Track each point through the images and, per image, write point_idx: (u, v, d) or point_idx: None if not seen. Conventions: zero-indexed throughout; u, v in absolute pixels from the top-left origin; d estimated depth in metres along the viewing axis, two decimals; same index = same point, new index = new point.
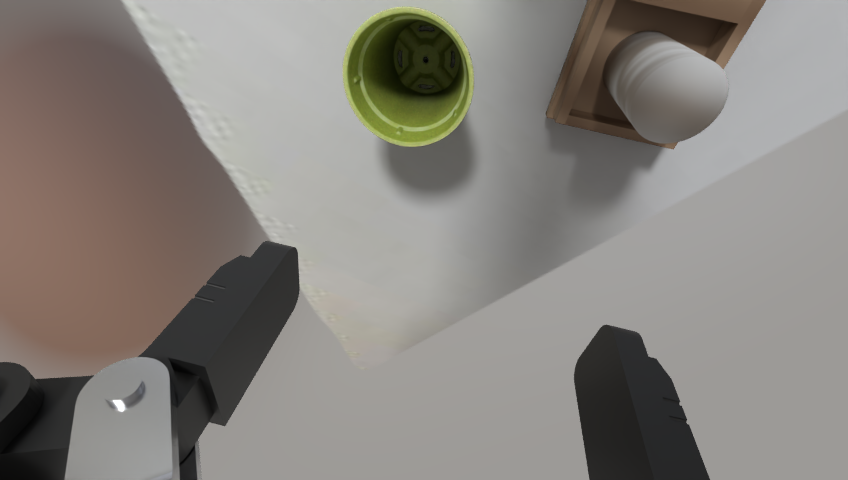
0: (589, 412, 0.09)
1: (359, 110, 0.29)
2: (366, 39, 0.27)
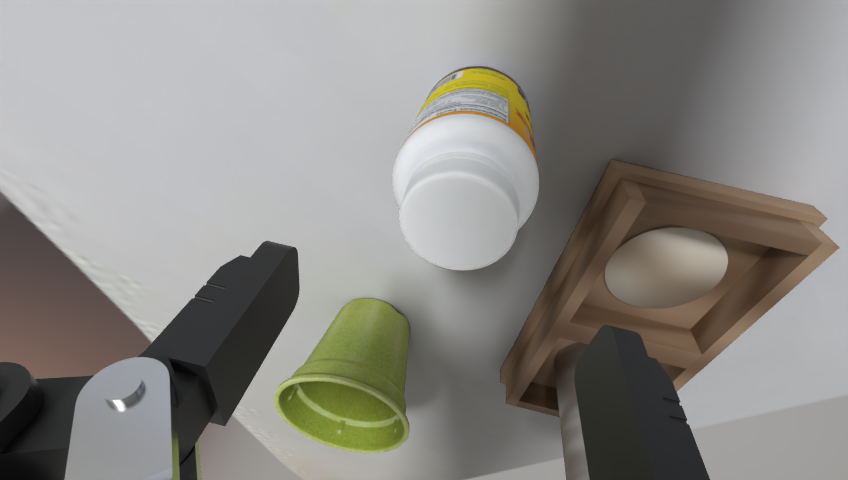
0: (589, 412, 0.09)
1: (295, 423, 0.28)
2: (299, 368, 0.26)
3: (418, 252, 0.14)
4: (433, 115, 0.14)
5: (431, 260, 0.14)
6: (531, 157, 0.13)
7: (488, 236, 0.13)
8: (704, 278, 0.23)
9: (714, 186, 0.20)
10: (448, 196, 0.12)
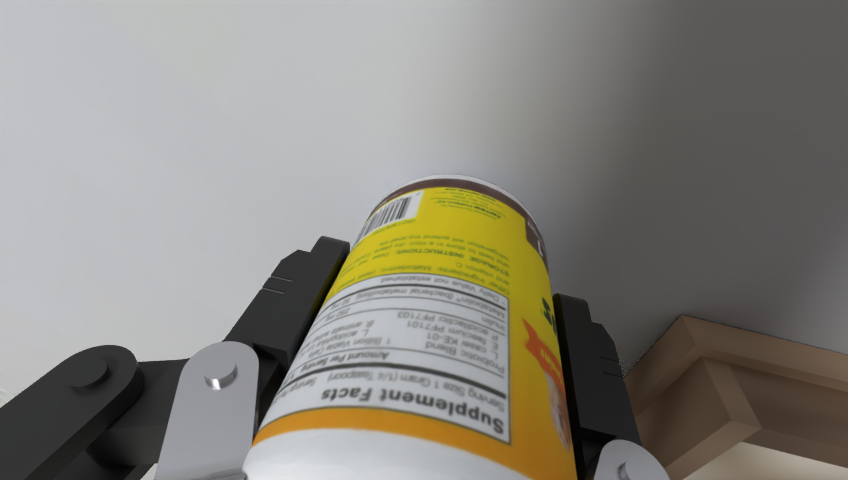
0: None
1: None
2: None
3: None
4: (317, 392, 0.05)
5: None
6: None
7: None
8: None
9: None
10: None
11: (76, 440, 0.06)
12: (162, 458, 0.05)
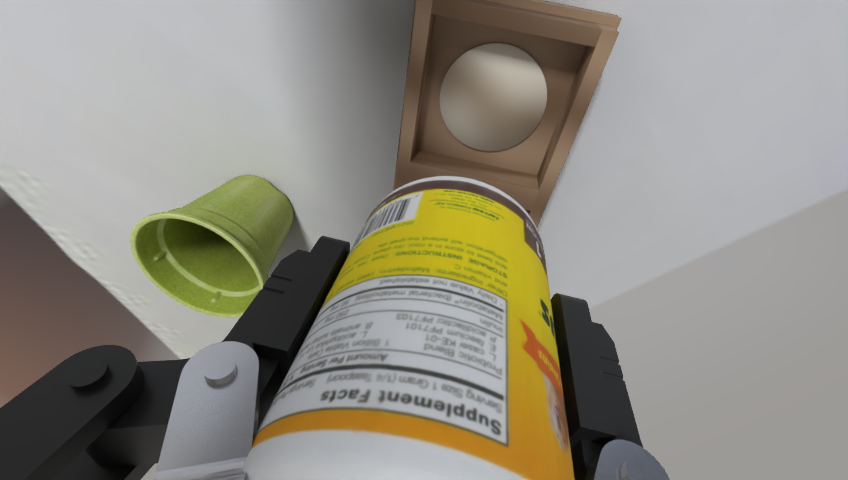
0: None
1: (164, 286, 0.28)
2: (158, 223, 0.27)
3: None
4: (316, 394, 0.05)
5: None
6: None
7: None
8: (530, 106, 0.23)
9: None
10: None
11: (77, 440, 0.06)
12: (162, 459, 0.05)
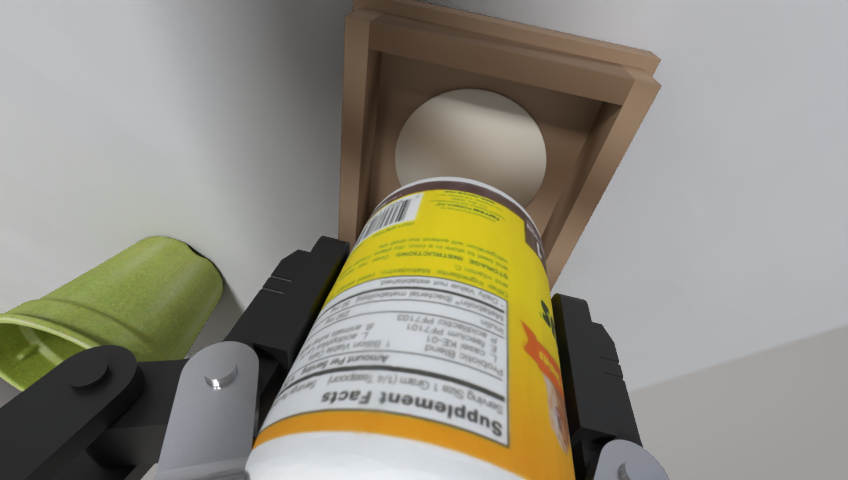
0: None
1: None
2: None
3: None
4: (317, 395, 0.05)
5: None
6: None
7: None
8: (522, 174, 0.16)
9: (504, 21, 0.14)
10: None
11: (76, 440, 0.06)
12: (162, 459, 0.05)
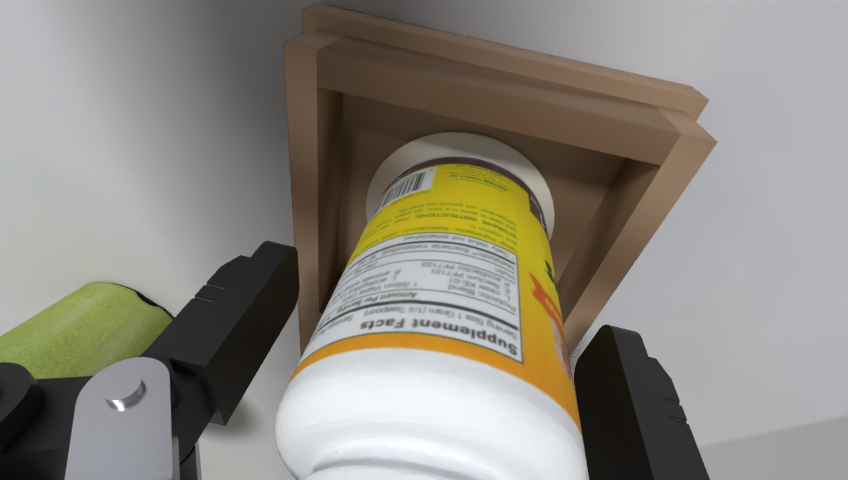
0: (589, 412, 0.09)
1: None
2: None
3: None
4: (356, 325, 0.06)
5: None
6: (574, 446, 0.06)
7: None
8: None
9: (500, 47, 0.11)
10: None
11: None
12: None
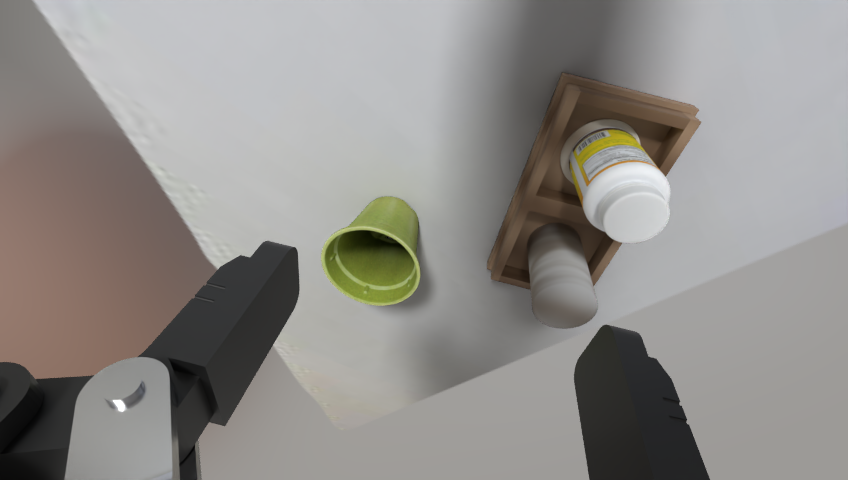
0: (589, 412, 0.09)
1: (334, 279, 0.37)
2: None
3: (608, 232, 0.26)
4: (615, 161, 0.26)
5: (614, 237, 0.26)
6: None
7: (651, 225, 0.25)
8: None
9: (628, 90, 0.31)
10: (637, 204, 0.24)
11: None
12: None
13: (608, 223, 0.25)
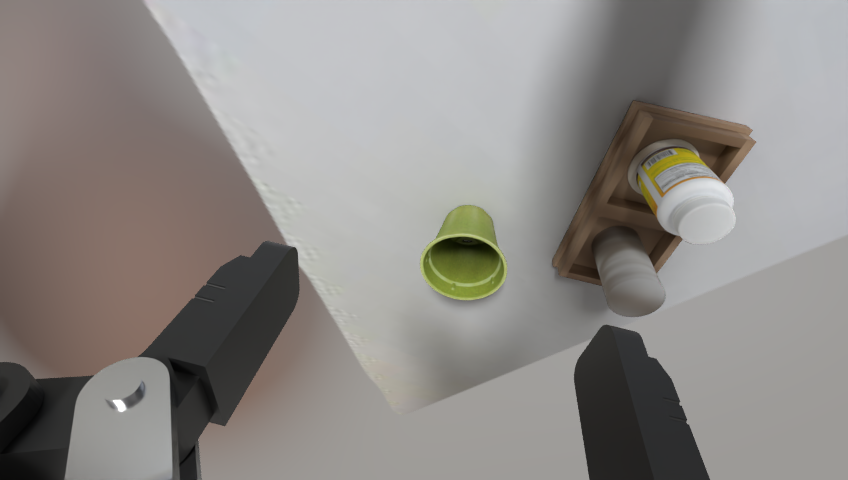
0: (589, 412, 0.09)
1: (428, 278, 0.44)
2: (436, 238, 0.42)
3: (682, 235, 0.31)
4: (687, 176, 0.32)
5: (686, 239, 0.31)
6: None
7: (719, 229, 0.30)
8: None
9: (690, 114, 0.36)
10: (709, 212, 0.30)
11: None
12: None
13: (683, 228, 0.31)
